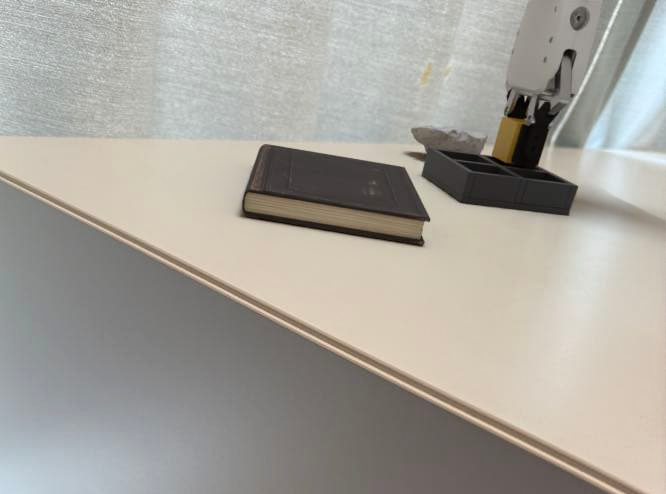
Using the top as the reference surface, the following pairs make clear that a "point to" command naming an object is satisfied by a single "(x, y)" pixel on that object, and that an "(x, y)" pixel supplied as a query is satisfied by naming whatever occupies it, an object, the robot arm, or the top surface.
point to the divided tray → (498, 182)
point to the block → (508, 139)
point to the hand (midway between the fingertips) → (515, 158)
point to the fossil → (450, 139)
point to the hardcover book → (334, 194)
